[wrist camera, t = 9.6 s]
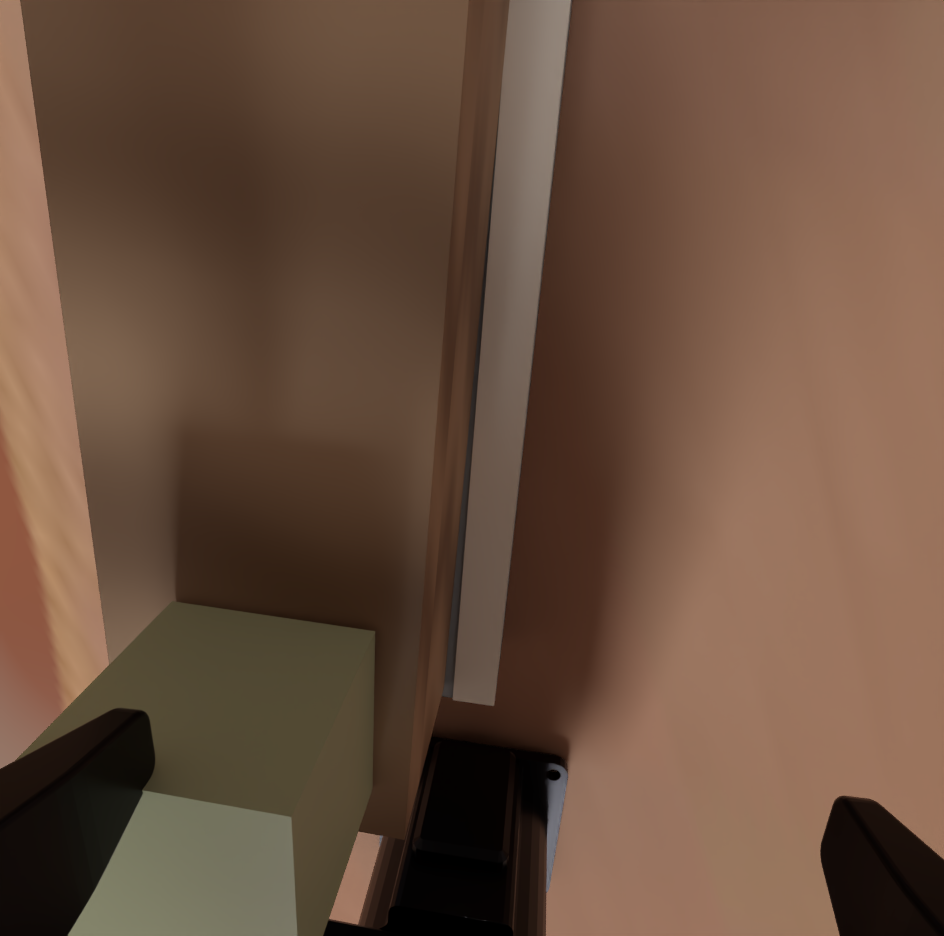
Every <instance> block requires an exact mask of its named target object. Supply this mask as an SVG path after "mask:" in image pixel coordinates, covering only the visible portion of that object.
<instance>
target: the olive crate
mask: <svg viewBox="0 0 944 936" xmlns="http://www.w3.org/2000/svg"><path fill="white" fill-rule="evenodd" d="M374 673H375V631H370V630H363V629H356V628H350V627H343V626H336V625H329V624H323V623H316V622H309V621H302V620H296V619H289V618H282V617H275V616H269V615H262V614H255V613H248V612H242V611H235V610H228V609H221V608H214V607H208V606H201V605H194V604H187V603H181V602H174V601H172V602H171V603H170V604H169V605H168V606H167V607H166V608H165V609H164V610H163V611H162V612H161V613H160V614H159V615H158V616H157V617H156V618H155V619H154V620H153V621H152V622H151V623H150V624H149V625H148V626H147V627H146V628H145V629H144V630H143V631H142V632H141V633H140V634H139V635H138V636H137V637H136V638H135V639H134V640H133V641H132V642H131V643H130V644H129V645H128V646H127V647H126V648H125V649H124V650H123V651H122V652H121V653H120V655H119V656H118V657H117V658H116V659H115V660H114V661H113V662H112V663H111V664H110V665H109V666H108V667H107V668H106V669H105V670H104V671H103V672H102V673H101V674H100V675H99V676H98V677H97V678H96V679H95V680H94V681H93V682H92V683H91V684H90V685H89V686H88V687H87V688H86V689H85V690H84V691H83V692H82V693H81V694H80V695H79V696H78V697H77V698H76V699H75V700H74V701H73V702H72V703H71V704H70V705H69V706H68V707H67V708H66V709H65V710H64V711H63V713H62V714H61V715H60V716H59V717H58V718H57V719H56V720H55V721H54V722H53V723H52V724H51V725H50V726H49V727H48V728H47V729H46V730H45V731H44V732H43V733H42V734H41V735H40V736H39V737H38V738H37V739H36V740H35V741H34V742H33V743H32V744H31V745H30V746H29V747H28V748H27V749H26V750H25V751H24V752H23V753H22V754H21V755H20V756H19V757H18V758H17V759H16V760H18V759H20V758H22V757H23V756H25V755H27V754H29V753H31V752H33V751H35V750H37V749H38V748H40V747H42V746H44V745H46V744H48V743H50V742H52V741H53V740H55V739H57V738H59V737H61V736H63V735H65V734H67V733H68V732H70V731H72V730H74V729H76V728H78V727H80V726H82V725H83V724H85V723H87V722H89V721H91V720H93V719H95V718H97V717H98V716H100V715H102V714H104V713H106V712H108V711H110V710H112V709H115V708H129V709H137V710H143V711H145V712H146V713H147V714H148V716H149V719H150V724H151V730H152V737H153V743H154V750H155V767H154V771H153V774H152V776H151V778H150V780H149V781H148V782H147V784H146V785H145V787H144V788H143V790H142V792H143V795H142V797H141V799H140V801H139V803H138V805H137V807H136V809H135V811H134V813H133V815H132V817H131V819H130V821H129V823H128V825H127V827H126V829H125V831H124V834H123V836H122V838H121V840H120V842H119V844H118V846H117V848H116V850H115V852H114V854H113V856H112V858H111V860H110V862H109V864H108V866H107V868H106V870H105V872H104V874H103V876H102V878H101V879H100V881H99V883H98V885H97V887H96V889H95V891H94V893H93V894H92V896H91V898H90V899H89V901H88V903H87V904H86V906H85V908H84V910H83V911H82V913H81V915H80V916H79V918H78V919H77V921H76V923H75V924H74V926H73V928H72V929H71V931H70V933H69V934H68V936H323V934H324V931H325V928H326V926H327V923H328V920H329V917H330V914H331V911H332V908H333V905H334V902H335V899H336V896H337V893H338V890H339V887H340V884H341V881H342V878H343V875H344V872H345V869H346V866H347V863H348V860H349V857H350V854H351V851H352V848H353V845H354V842H355V839H356V836H357V833H358V830H359V827H360V824H361V821H362V819H363V816H364V813H365V810H366V807H367V804H368V801H369V798H370V795H371V792H372V789H373V734H374ZM16 760H15V761H16Z"/></svg>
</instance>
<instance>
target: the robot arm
mask: <svg viewBox="0 0 944 936" xmlns="http://www.w3.org/2000/svg"><path fill="white" fill-rule="evenodd" d="M154 767H155V750H154V743H153V737H152V730H151V724H150V719H149V716H148V714H147V713H146V712H145V711H143V710H137V709H129V708H115V709H112V710H110V711H108V712H106V713H104V714H102V715H100V716H98V717H97V718H95V719H93V720H91V721H89V722H87V723H85V724H83V725H82V726H80V727H78V728H76V729H74V730H72V731H70V732H68V733H67V734H65V735H63V736H61V737H59V738H57V739H55V740H53V741H52V742H50V743H48V744H46V745H44V746H42V747H40V748H38V749H37V750H35V751H33V752H31V753H29V754H27V755H25V756H23V757H22V758H20V759H18V760H16V761H14V762H12V763H10V764H8V765H7V766H5V767H3V768H1V769H0V936H68V934H69V933H70V931H71V929H72V928H73V926H74V924H75V923H76V921H77V919H78V918H79V916H80V915H81V913H82V911H83V910H84V908H85V906H86V904H87V903H88V901H89V899H90V898H91V896H92V894H93V893H94V891H95V889H96V887H97V885H98V883H99V881H100V879H101V878H102V876H103V874H104V872H105V870H106V868H107V866H108V864H109V862H110V860H111V858H112V856H113V854H114V852H115V850H116V848H117V846H118V844H119V842H120V840H121V838H122V836H123V834H124V831H125V829H126V827H127V825H128V823H129V821H130V819H131V817H132V815H133V813H134V811H135V809H136V807H137V805H138V803H139V801H140V799H141V797H142V795H143V792H142V790H143V788H144V787H145V785H146V784H147V782H148V781H149V780H150V778H151V776H152V774H153V771H154ZM553 769H554V770H557V772H552V771H549V770H553ZM567 779H568V767H567V763H566V761H565V760H564V759H563V758H561V757H559V756H556V755H550V754H544V753H537V752H530V751H523V750H517V749H510V748H503V747H496V746H490V745H483V744H476V743H469V742H463V741H456V740H449V739H442V738H436V737H431V739H430V743H429V747H428V751H427V755H426V759H425V762H424V766H423V770H422V774H421V778H420V782H419V786H418V790H417V793H416V797H415V801H414V805H413V809H412V813H411V817H410V821H409V824H408V828H407V832H406V836H405V840H402V839H397V838H391V837H386V836H381V835H380V848H379V852H378V855H377V859H376V862H375V866H374V869H373V873H372V877H371V880H370V884H369V887H368V891H367V895H366V898H365V902H364V905H363V909H362V913H361V916H360V920H359V923H358V925H356V924H351V923H346V922H341V921H336V920H331V919H329V920H328V923H327V926H326V928H325V931H324V934H323V936H546V893H547V892H548V890H549V886H550V880H551V874H552V868H553V862H554V857H555V851H556V845H557V839H558V833H559V827H560V821H561V815H562V809H563V803H564V797H565V791H566V785H567ZM820 852H821V863H822V868H823V872H824V876H825V879H826V883H827V887H828V891H829V895H830V899H831V903H832V907H833V911H834V915H835V919H836V923H837V927H838V931H839V934H840V936H944V859H943V858H941V857H940V856H939V855H938V854H937V853H936V852H934V851H933V850H932V849H931V848H930V847H929V846H928V845H926V844H925V843H924V842H923V841H922V840H921V839H919V838H918V837H917V836H916V835H915V834H914V833H913V832H911V831H910V830H909V829H908V828H907V827H906V826H904V825H903V824H902V823H901V822H900V821H899V820H898V819H896V818H895V817H894V816H893V815H892V814H891V813H889V812H888V811H887V810H886V809H885V808H884V807H883V806H881V805H880V804H879V803H877V802H876V801H874V800H871V799H867V798H859V797H851V796H839V797H838V798H837V799H836V800H835V801H834V803H833V806H832V809H831V813H830V816H829V819H828V822H827V826H826V829H825V832H824V835H823V839H822V842H821V850H820Z"/></svg>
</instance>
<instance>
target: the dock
mask: <svg viewBox="0 0 944 936" xmlns="http://www.w3.org/2000/svg"><path fill="white" fill-rule="evenodd" d="M571 10H572V0H510V2H509V13H508V23H507V34H506V44H505V55H504V65H503V75H502V86H501V96H500V107H499V117H498V128H497V138H496V149H495V159H494V170H493V180H492V190H491V201H490V211H489V222H488V232H487V243H486V253H485V264H484V274H483V285H482V295H481V305H480V316H479V326H478V337H477V347H476V358H475V368H474V379H473V389H472V399H471V410H470V420H469V431H468V441H467V452H466V462H465V473H464V483H463V493H462V504H461V514H460V525H459V535H458V546H457V556H456V567H455V577H454V588H453V598H452V608H451V619H450V629H449V640H448V650H447V661H446V671H445V682H444V689H443V693H442V696H443V697H450V698H453V700H454V701H461V702H468V703H475V704H482V705H489V706H494V703H495V695H496V687H497V679H498V671H499V663H500V655H501V647H502V639H503V630H504V621H505V612H506V602H507V593H508V584H509V575H510V566H511V557H512V548H513V539H514V529H515V520H516V511H517V502H518V493H519V484H520V475H521V466H522V457H523V447H524V438H525V429H526V420H527V411H528V402H529V393H530V384H531V374H532V365H533V356H534V347H535V338H536V329H537V320H538V311H539V301H540V292H541V283H542V274H543V265H544V256H545V247H546V238H547V228H548V219H549V210H550V201H551V192H552V183H553V174H554V165H555V155H556V146H557V137H558V128H559V119H560V110H561V101H562V92H563V82H564V73H565V64H566V55H567V46H568V37H569V28H570V19H571Z"/></svg>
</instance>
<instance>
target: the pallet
mask: <svg viewBox="0 0 944 936" xmlns="http://www.w3.org/2000/svg"><path fill="white" fill-rule="evenodd" d="M20 2H21V9H22V17H23V24H24V31H25V39H26V46H27V54H28V61H29V69H30V76H31V84H32V91H33V99H34V106H35V114H36V121H37V129H38V136H39V143H40V151H41V158H42V166H43V173H44V181H45V188H46V196H47V203H48V211H49V218H50V226H51V233H52V241H53V248H54V255H55V263H56V270H57V278H58V285H59V293H60V300H61V308H62V315H63V323H64V330H65V338H66V345H67V353H68V360H69V367H70V375H71V382H72V390H73V397H74V405H75V412H76V420H77V427H78V435H79V442H80V450H81V457H82V464H83V472H84V479H85V487H86V494H87V502H88V509H89V517H90V524H91V532H92V539H93V547H94V554H95V562H96V569H97V576H98V584H99V591H100V599H101V606H102V614H103V621H104V629H105V636H106V644H107V651H108V659H109V665H110V664H111V663H112V662H113V661H114V660H115V659H116V658H117V657H118V656H119V655H120V653H121V652H122V651H123V650H124V649H125V648H126V647H127V646H128V645H129V644H130V643H131V642H132V641H133V640H134V639H135V638H136V637H137V636H138V635H139V634H140V633H141V632H142V631H143V630H144V629H145V628H146V627H147V626H148V625H149V624H150V623H151V622H152V621H153V620H154V619H155V618H156V617H157V616H158V615H159V614H160V613H161V612H162V611H163V610H164V609H165V608H166V607H167V606H168V605H169V604H170V603H171V602H172V601H174V602H181V603H187V604H194V605H201V606H208V607H214V608H221V609H228V610H235V611H242V612H248V613H255V614H262V615H269V616H275V617H282V618H289V619H296V620H302V621H309V622H316V623H323V624H329V625H336V626H343V627H350V628H356V629H363V630H370V631H375V673H374V734H373V789H372V792H371V795H370V798H369V801H368V804H367V807H366V810H365V813H364V816H363V819H362V821H361V824H360V827H359V830H358V831H359V832H365V833H370V834H375V835H381V836H386V837H391V838H397V839H402V840H405V836H406V832H407V828H408V824H409V821H410V817H411V813H412V809H413V805H414V801H415V797H416V793H417V790H418V786H419V782H420V778H421V774H422V770H423V766H424V762H425V759H426V755H427V751H428V747H429V743H430V739H431V735H432V731H433V728H434V724H435V720H436V716H437V712H438V708H439V704H440V700H441V697H442V693H443V689H444V682H445V671H446V661H447V650H448V640H449V629H450V619H451V608H452V598H453V588H454V577H455V567H456V556H457V546H458V535H459V525H460V514H461V504H462V493H463V483H464V473H465V462H466V452H467V441H468V431H469V420H470V410H471V399H472V389H473V379H474V368H475V358H476V347H477V337H478V326H479V316H480V305H481V295H482V285H483V274H484V264H485V253H486V243H487V232H488V222H489V211H490V201H491V190H492V180H493V170H494V159H495V149H496V138H497V128H498V117H499V107H500V96H501V86H502V75H503V65H504V55H505V44H506V34H507V23H508V13H509V2H510V0H20Z"/></svg>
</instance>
